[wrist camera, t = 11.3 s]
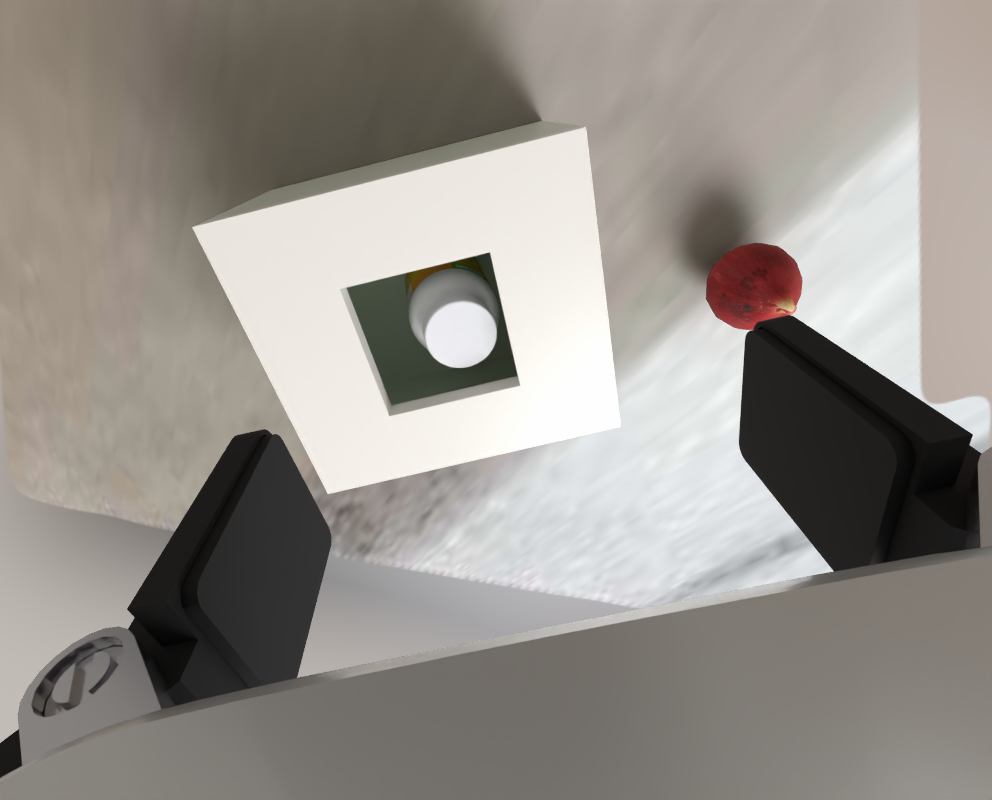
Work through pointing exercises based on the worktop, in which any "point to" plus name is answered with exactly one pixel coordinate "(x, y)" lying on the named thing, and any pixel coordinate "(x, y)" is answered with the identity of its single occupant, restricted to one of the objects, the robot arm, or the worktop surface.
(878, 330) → the worktop surface
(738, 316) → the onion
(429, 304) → the supplement bottle
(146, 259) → the worktop surface
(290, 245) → the caddy
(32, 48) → the worktop surface
